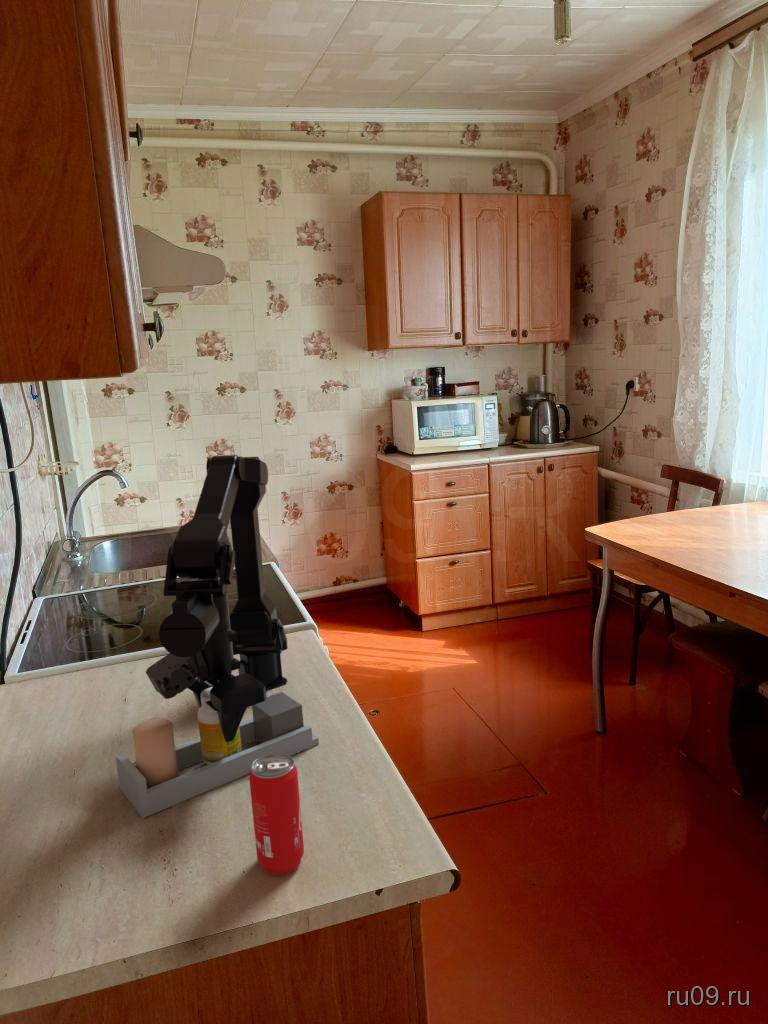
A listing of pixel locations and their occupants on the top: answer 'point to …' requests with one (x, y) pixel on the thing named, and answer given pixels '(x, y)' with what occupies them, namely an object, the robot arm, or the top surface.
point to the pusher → (276, 717)
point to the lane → (204, 769)
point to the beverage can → (276, 813)
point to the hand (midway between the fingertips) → (220, 733)
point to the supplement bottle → (214, 734)
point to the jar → (155, 751)
